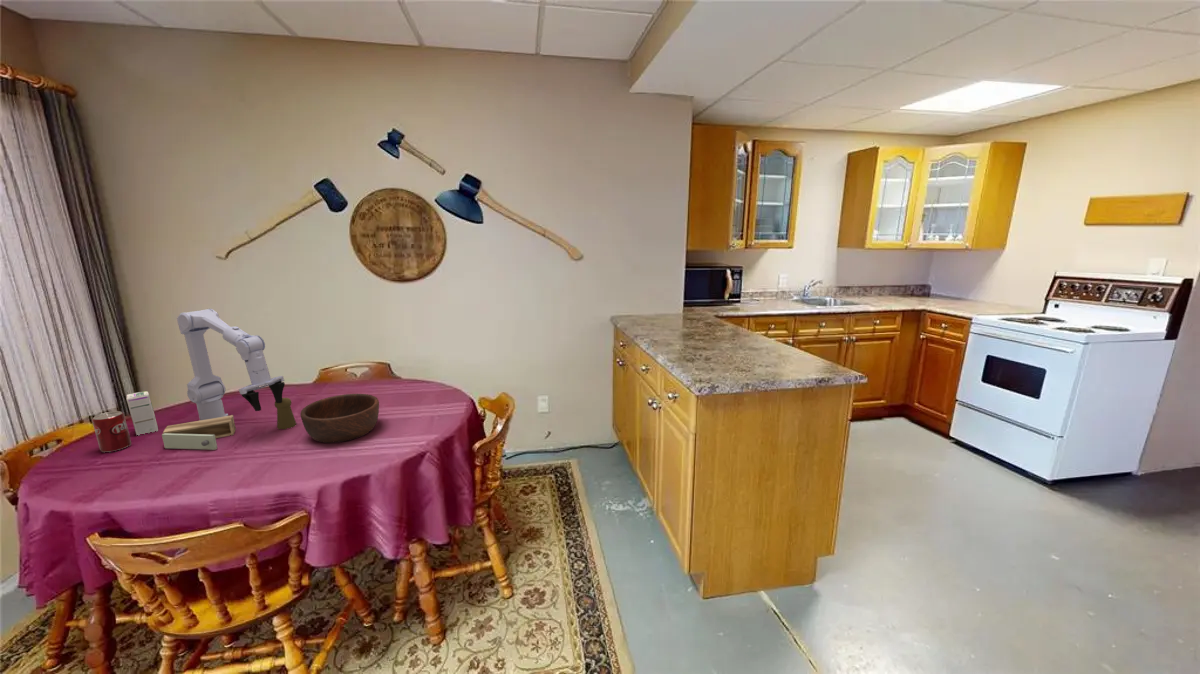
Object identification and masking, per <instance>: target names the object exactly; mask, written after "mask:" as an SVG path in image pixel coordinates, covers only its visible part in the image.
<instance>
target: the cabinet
mask: <svg viewBox="0 0 1200 674" xmlns="http://www.w3.org/2000/svg"><path fill="white" fill-rule="evenodd" d="M236 429H237V428H236V424H235V418H234V415H233V414H231V415H228V416H224V417H218V418H212V419H206V420H200V419H199V420H196V421H190V422H184V423H183V422H182V423H177V424H170V425H167V426H166V427H165V428H164V430H163V432H162V434H164V433H172V434H207V435H215V438H216V439H219V438H224V437H230V435H231V436H234V435H235V432H236Z"/></svg>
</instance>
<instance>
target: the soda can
mask: <svg viewBox="0 0 1200 674" xmlns="http://www.w3.org/2000/svg"><path fill="white" fill-rule="evenodd" d="M91 423H92V426H93V429H94V433H95V437H96V441H97V443H98V448H99V450H100V452H102V453H105V452H109V453H112V452H111V451H115V452H117V451H116V450H119V451H121V450H120V449H122V450H124V449H123V448H125V449H127V448H129V447H130V446H131V445H132V441H131V435H130V432H129V427H128V424H127V421H126V417H125V413H124V412H123V411H109V412H103V413H99V414H97V415H95V416H94V417H93V418H92V419H91ZM128 446H129V447H128ZM126 447H127V448H126Z"/></svg>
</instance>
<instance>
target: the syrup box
mask: <svg viewBox="0 0 1200 674" xmlns="http://www.w3.org/2000/svg"><path fill="white" fill-rule="evenodd" d="M126 402H127V405H128V409H129V410H128V411H129V413H130V417H131V420H132V424H133V428H134V431H135V434H136V436H137V435H138V436H141V435H140V434H144V435H146V434H145V433H148V434H151V433H150V432H152V433H156V432H159V427H158V422H157V420H156V415H155V411H154V407H153V404H152V401H151V397H150V394H149V391H148V390H145V391H138V392H133V393H130V394H129V393H128V394H126ZM155 431H156V432H155Z"/></svg>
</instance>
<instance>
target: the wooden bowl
mask: <svg viewBox="0 0 1200 674" xmlns="http://www.w3.org/2000/svg"><path fill="white" fill-rule="evenodd" d="M379 412H380V401H379V398H378V397H377V396H375V395H372V394H366V393H346V394H339V395H338V394H337V395H333V396H330V397H326V398H322V399H319V400H315V401H314V402H312V403H309V404H307V405H306V406H305V407H303V408H302V409H301V410H300V419H301V422H302V424H303V427H304V429H305V431H306V433H307V434H308V435H309V437H310V438H312V439H313V440H314V441H317V442H320V443H326V444H333V443H342V442H348V441H352V440H355V439H358V438H361V437H363V436H365V435H367V434H369V433H370V432H371V431H372V430H373V429H374V428H375V426H376V424H377V421H378V419H379ZM369 431H370V432H369ZM366 433H367V434H366ZM360 436H361V437H360ZM357 437H358V438H357Z"/></svg>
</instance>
